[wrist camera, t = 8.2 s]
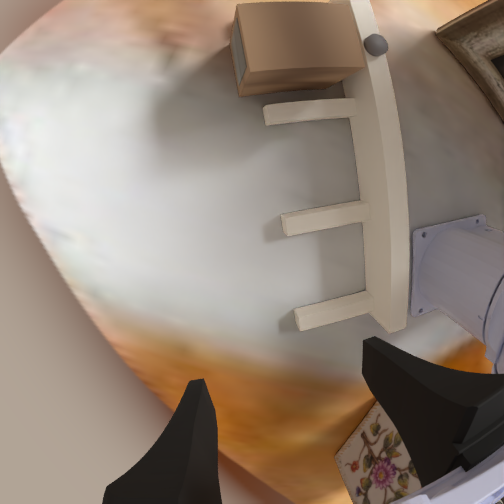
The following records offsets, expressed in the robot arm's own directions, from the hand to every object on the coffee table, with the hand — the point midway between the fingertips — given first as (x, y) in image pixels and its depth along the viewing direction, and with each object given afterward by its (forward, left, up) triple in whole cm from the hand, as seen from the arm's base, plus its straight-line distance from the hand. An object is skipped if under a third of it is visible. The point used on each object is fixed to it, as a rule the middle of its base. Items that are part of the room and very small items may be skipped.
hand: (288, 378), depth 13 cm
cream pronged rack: (-6, -8, -10) cm, 14 cm away
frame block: (-4, -15, -10) cm, 19 cm away
